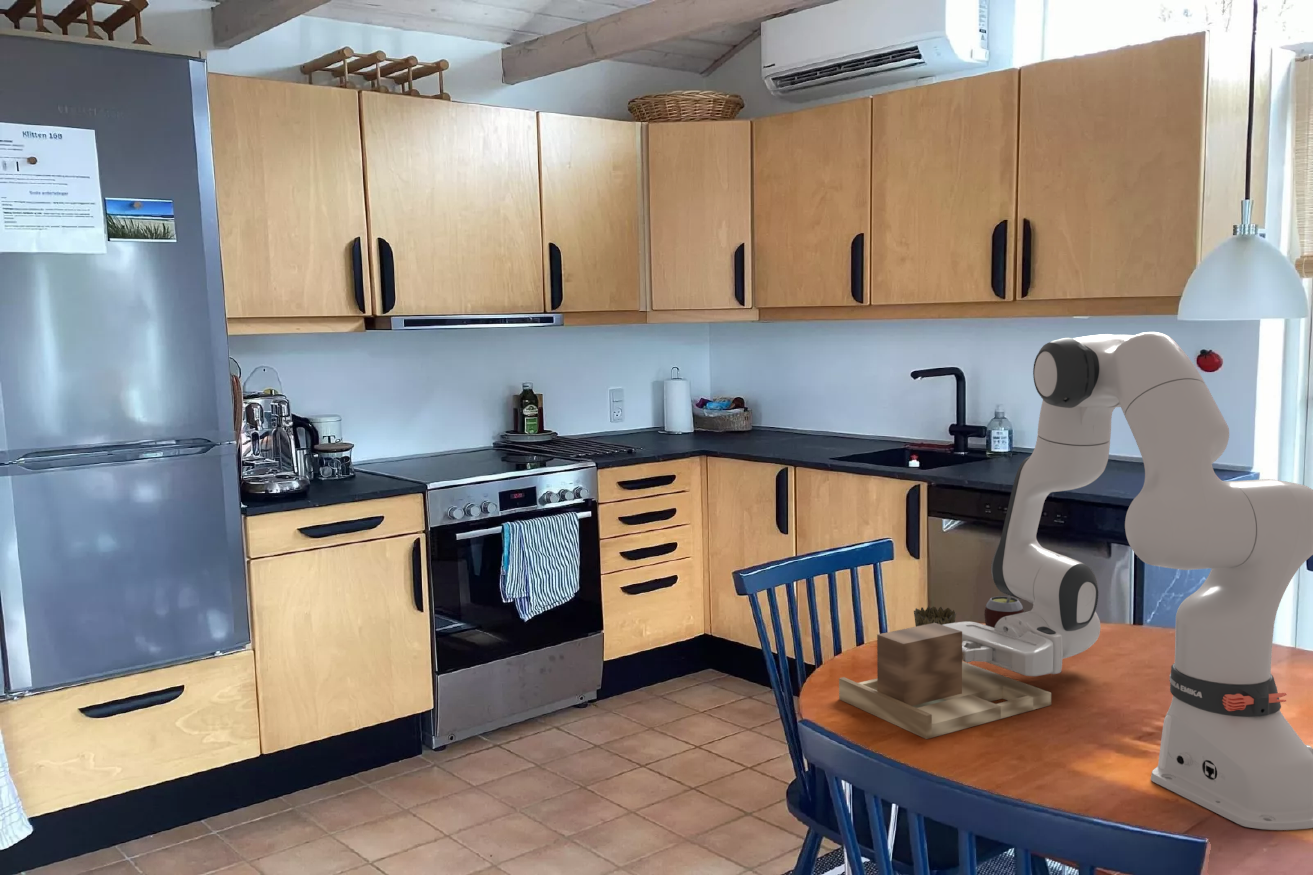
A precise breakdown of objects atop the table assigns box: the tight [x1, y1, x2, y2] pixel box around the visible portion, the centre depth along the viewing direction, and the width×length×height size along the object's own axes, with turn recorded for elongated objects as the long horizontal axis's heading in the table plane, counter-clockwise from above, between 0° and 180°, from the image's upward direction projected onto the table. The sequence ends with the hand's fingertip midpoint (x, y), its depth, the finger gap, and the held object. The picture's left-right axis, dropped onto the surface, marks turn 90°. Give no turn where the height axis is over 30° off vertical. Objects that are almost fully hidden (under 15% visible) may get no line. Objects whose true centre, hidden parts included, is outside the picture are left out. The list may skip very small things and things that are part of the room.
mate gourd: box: [984, 595, 1025, 628], centre depth 200 cm, size 8×8×15 cm
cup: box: [913, 605, 957, 627], centre depth 194 cm, size 8×7×8 cm
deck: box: [838, 661, 1052, 740], centre depth 169 cm, size 26×20×4 cm
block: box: [876, 623, 962, 706], centre depth 167 cm, size 12×6×10 cm, turn 119°
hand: (958, 655), depth 170 cm, fingers closed
